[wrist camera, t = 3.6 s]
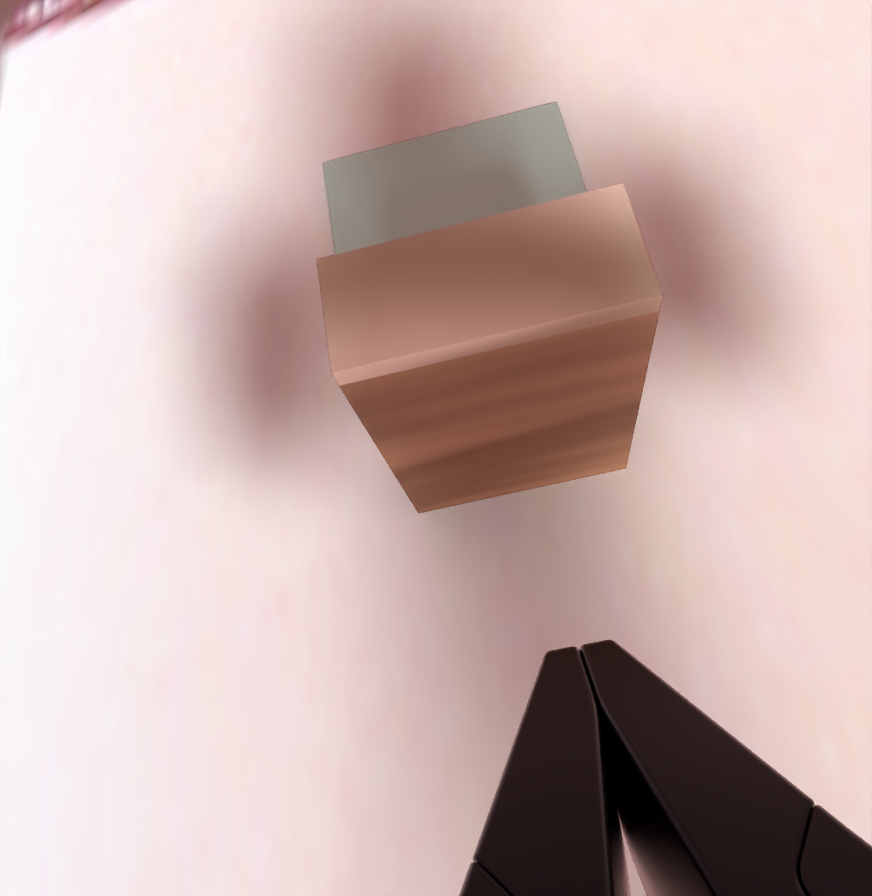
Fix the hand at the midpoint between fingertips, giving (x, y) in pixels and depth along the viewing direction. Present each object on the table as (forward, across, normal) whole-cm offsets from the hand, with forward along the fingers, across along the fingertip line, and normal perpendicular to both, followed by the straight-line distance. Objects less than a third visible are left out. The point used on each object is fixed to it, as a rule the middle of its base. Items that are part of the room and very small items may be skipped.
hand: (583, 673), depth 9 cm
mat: (+22, 0, -3) cm, 22 cm away
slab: (+16, 0, +3) cm, 16 cm away
